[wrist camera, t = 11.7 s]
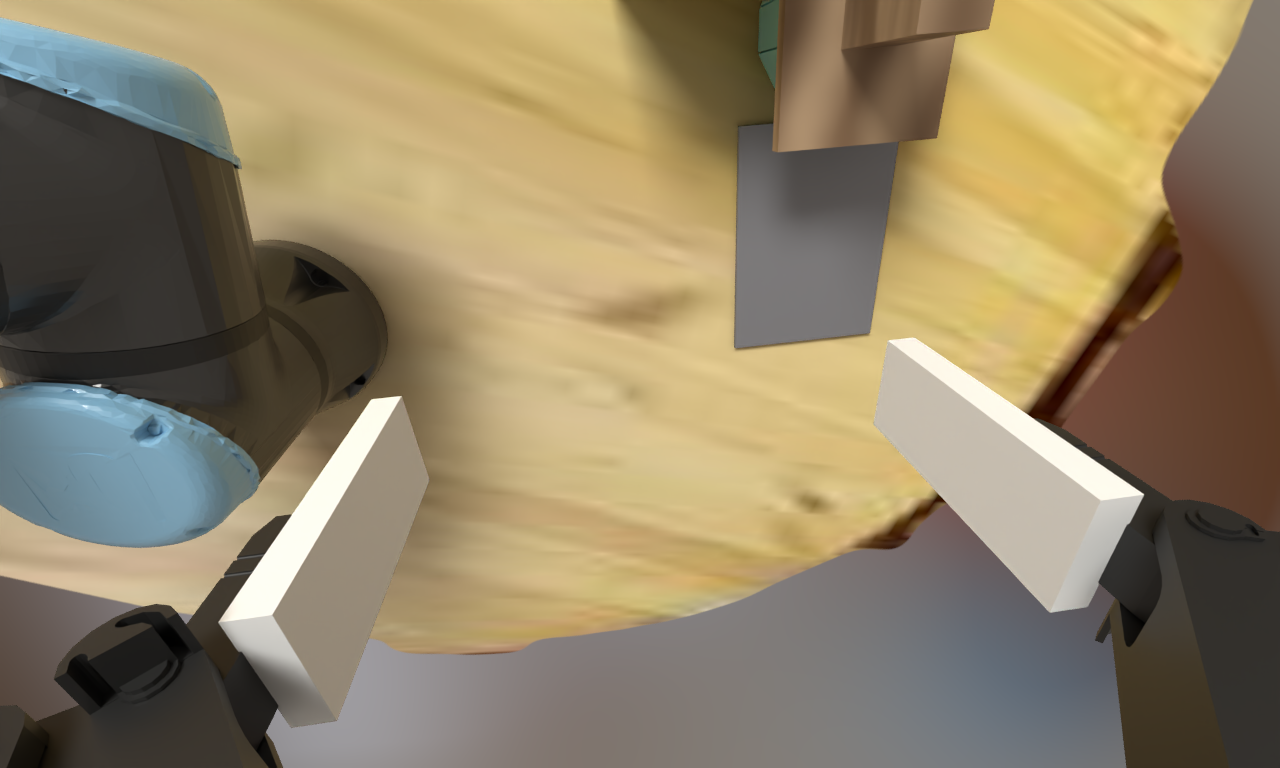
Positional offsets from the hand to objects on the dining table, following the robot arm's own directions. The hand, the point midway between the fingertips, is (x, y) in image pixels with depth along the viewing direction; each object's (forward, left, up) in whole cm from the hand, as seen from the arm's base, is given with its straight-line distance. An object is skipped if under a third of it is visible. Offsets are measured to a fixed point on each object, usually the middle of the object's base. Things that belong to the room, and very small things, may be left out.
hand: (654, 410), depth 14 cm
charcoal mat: (+19, -5, -35) cm, 40 cm away
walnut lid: (+19, +12, -29) cm, 36 cm away
